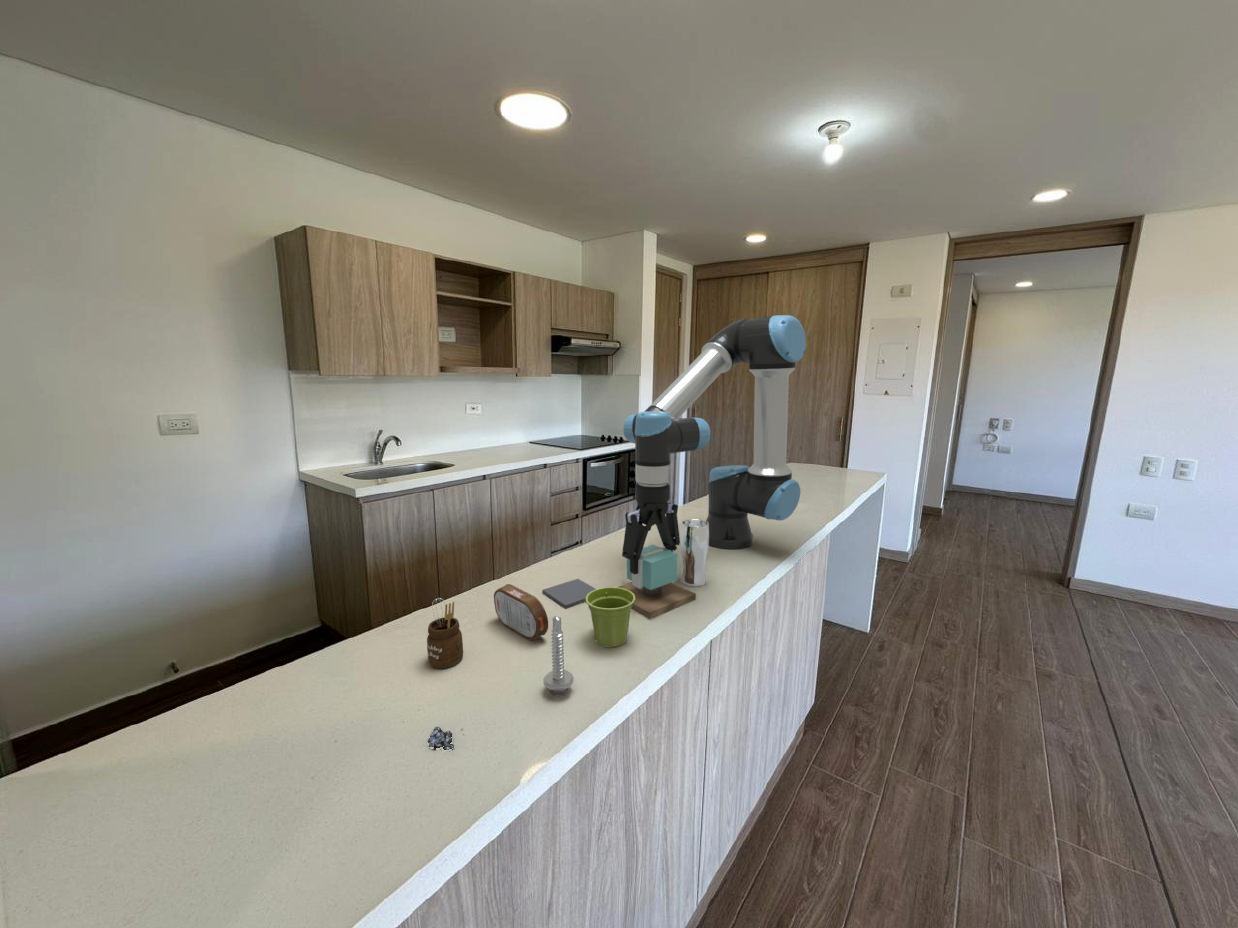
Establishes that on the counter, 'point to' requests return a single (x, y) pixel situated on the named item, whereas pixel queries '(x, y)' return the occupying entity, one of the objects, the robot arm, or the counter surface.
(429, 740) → the grey irregular lump
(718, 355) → the robot arm
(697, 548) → the beer glass
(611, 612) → the plant pot
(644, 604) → the brown square stand
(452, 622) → the utensil holder
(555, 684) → the screw
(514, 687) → the counter surface
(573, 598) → the mat
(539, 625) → the tin
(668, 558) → the striped light blue box
